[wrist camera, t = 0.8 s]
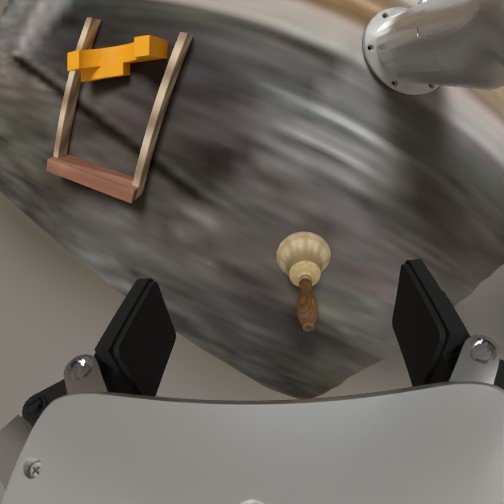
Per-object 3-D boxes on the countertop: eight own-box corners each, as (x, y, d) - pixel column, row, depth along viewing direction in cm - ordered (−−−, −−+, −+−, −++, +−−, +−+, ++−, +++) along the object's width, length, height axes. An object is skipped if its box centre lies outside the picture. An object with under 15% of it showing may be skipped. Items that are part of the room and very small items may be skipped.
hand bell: (268, 268, 49) (262, 343, 35) (288, 223, 45) (290, 290, 31) (316, 284, 50) (325, 360, 36) (339, 242, 45) (360, 312, 32)
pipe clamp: (93, 81, 36) (67, 83, 30) (93, 54, 34) (67, 53, 28) (167, 70, 35) (148, 69, 30) (168, 41, 33) (149, 35, 27)
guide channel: (96, 19, 31) (81, 16, 27) (193, 36, 32) (184, 31, 29) (60, 163, 42) (46, 170, 39) (142, 193, 44) (131, 203, 41)
